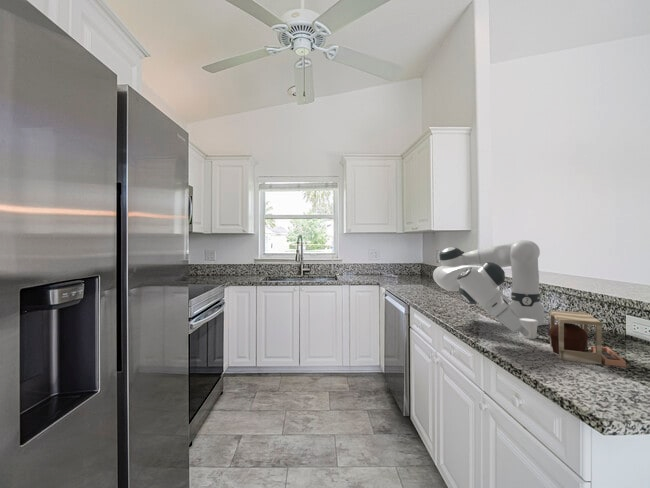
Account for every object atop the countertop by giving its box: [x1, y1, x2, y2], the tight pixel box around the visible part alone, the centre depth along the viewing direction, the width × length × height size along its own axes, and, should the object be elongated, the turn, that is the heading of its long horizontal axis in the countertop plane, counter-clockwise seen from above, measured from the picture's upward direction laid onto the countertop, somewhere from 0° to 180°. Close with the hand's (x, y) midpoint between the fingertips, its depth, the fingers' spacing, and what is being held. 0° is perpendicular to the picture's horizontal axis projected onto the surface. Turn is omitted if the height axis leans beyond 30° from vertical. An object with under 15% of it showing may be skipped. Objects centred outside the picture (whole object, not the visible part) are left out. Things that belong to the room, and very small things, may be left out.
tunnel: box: [549, 309, 603, 365], centre depth 117 cm, size 16×11×13 cm
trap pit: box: [590, 345, 627, 368], centre depth 114 cm, size 16×5×2 cm, turn 156°
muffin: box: [547, 323, 589, 356], centre depth 119 cm, size 12×11×10 cm
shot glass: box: [519, 318, 538, 340], centre depth 139 cm, size 7×7×7 cm
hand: (527, 334), depth 123 cm, fingers closed
